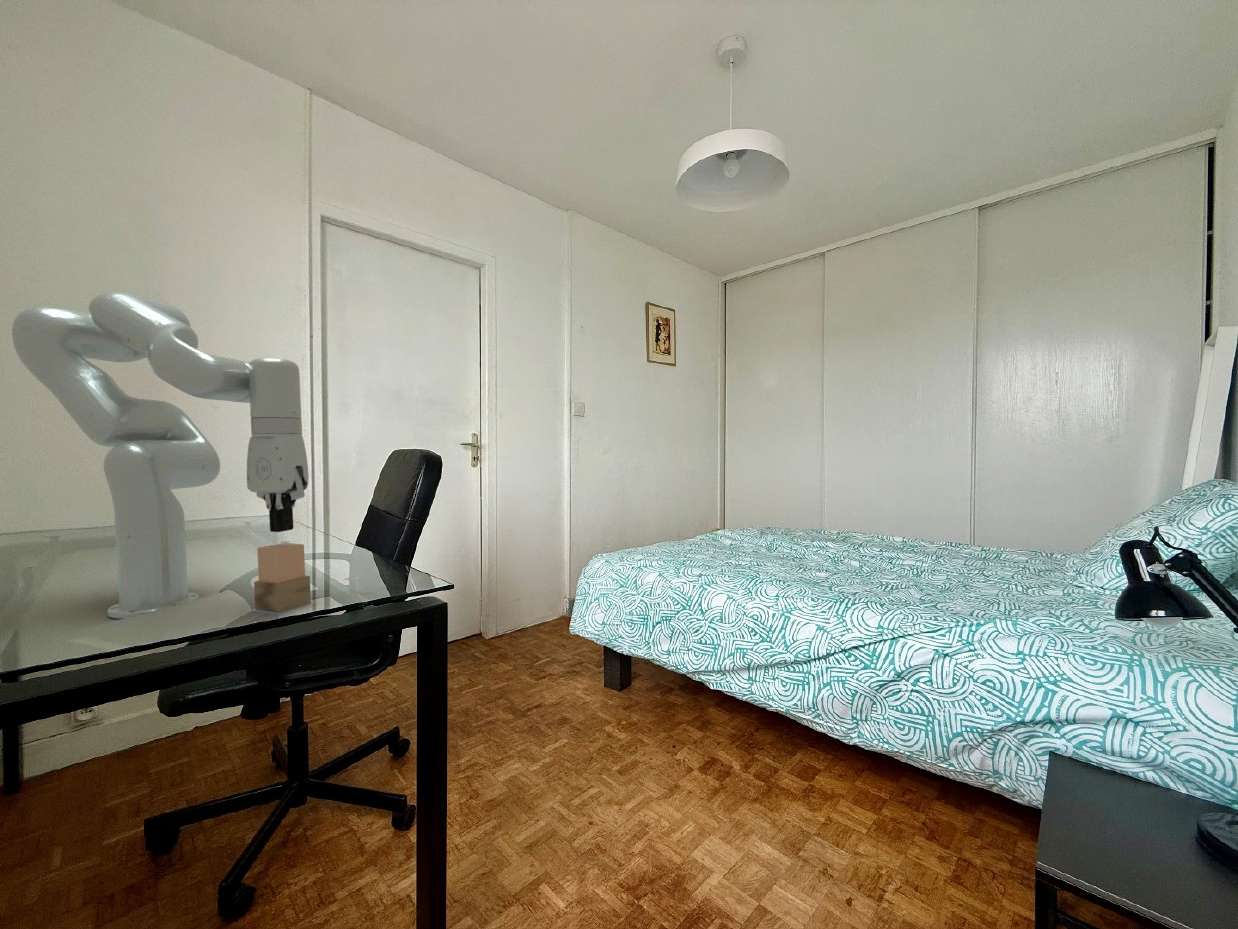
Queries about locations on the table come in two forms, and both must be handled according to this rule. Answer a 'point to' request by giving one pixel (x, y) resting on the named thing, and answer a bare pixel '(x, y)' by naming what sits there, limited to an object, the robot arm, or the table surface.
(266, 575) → the terracotta block
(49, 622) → the table surface
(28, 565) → the table surface
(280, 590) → the walnut block
